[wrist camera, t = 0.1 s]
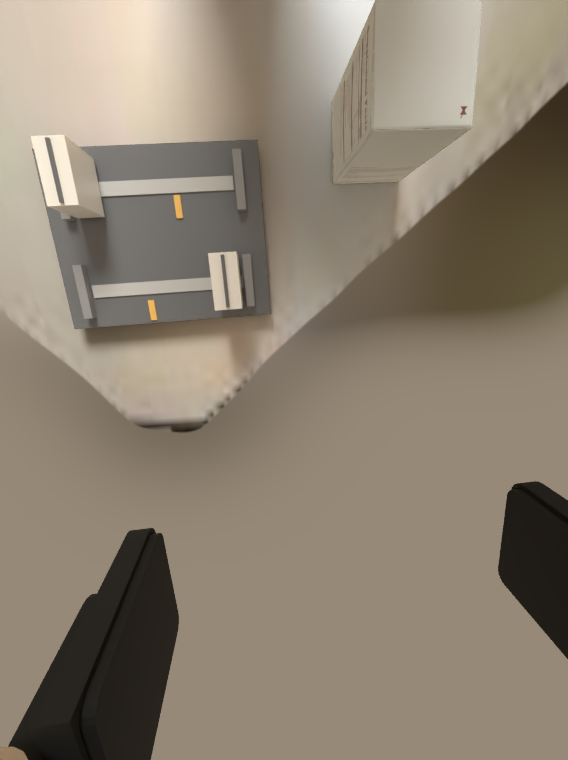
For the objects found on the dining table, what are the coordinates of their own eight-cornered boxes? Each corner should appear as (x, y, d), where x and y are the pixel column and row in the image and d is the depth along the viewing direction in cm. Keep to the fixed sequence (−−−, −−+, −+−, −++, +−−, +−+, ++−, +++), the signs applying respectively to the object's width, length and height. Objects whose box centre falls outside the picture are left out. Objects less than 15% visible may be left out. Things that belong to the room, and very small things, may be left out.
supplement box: (402, 100, 34) (488, -5, 22) (399, 183, 36) (475, 131, 24) (329, 100, 33) (375, -8, 21) (329, 185, 35) (371, 131, 23)
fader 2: (213, 257, 34) (207, 252, 29) (238, 256, 34) (236, 251, 29) (219, 307, 35) (214, 310, 30) (243, 305, 35) (241, 308, 30)
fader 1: (65, 159, 30) (29, 135, 25) (93, 158, 30) (62, 133, 25) (78, 218, 32) (45, 205, 27) (104, 217, 32) (77, 204, 27)
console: (45, 157, 32) (25, 144, 29) (256, 148, 34) (257, 135, 31) (83, 326, 36) (69, 330, 34) (269, 312, 38) (271, 314, 35)
